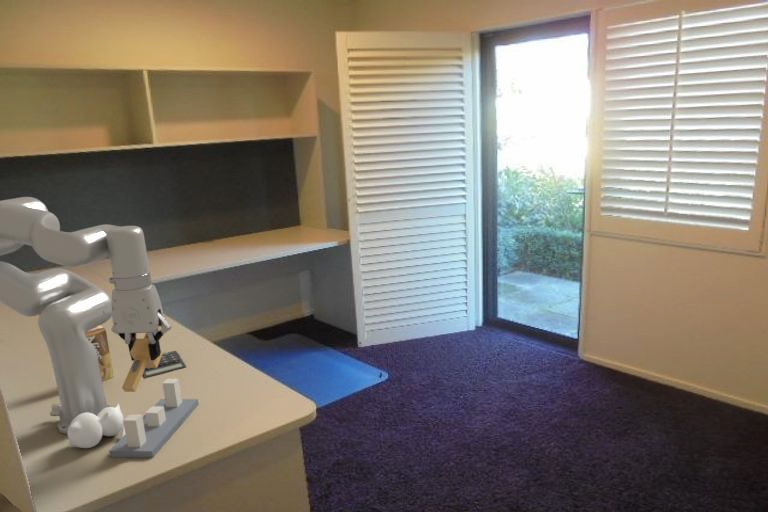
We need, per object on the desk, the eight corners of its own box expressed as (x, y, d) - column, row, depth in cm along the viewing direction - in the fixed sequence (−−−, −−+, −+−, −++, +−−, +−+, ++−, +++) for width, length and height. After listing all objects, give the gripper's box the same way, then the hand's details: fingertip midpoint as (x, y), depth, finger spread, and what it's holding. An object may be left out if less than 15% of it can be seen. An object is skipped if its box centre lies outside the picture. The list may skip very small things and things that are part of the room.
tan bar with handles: (127, 398, 123) (115, 384, 119) (158, 326, 137) (148, 311, 133) (144, 398, 123) (133, 384, 118) (173, 326, 137) (164, 310, 132)
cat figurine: (117, 392, 131) (62, 411, 122) (138, 426, 126) (82, 449, 117) (113, 414, 135) (60, 435, 127) (133, 448, 131) (79, 472, 122)
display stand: (110, 456, 121) (103, 424, 119) (161, 404, 144) (157, 376, 142) (153, 457, 120) (147, 424, 118) (198, 404, 142) (194, 375, 140)
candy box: (109, 373, 164) (100, 324, 161) (115, 377, 161) (106, 327, 158) (77, 384, 158) (67, 334, 154) (82, 388, 155) (72, 337, 152)
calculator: (175, 349, 178) (186, 365, 165) (176, 352, 178) (186, 368, 165) (136, 359, 172) (144, 376, 159) (137, 362, 172) (145, 379, 160)
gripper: (87, 287, 121) (102, 365, 125) (160, 285, 119) (172, 364, 123) (107, 278, 128) (121, 351, 132) (176, 276, 126) (188, 351, 130)
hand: (146, 357), depth 128 cm, fingers closed on tan bar with handles, 4 cm apart
